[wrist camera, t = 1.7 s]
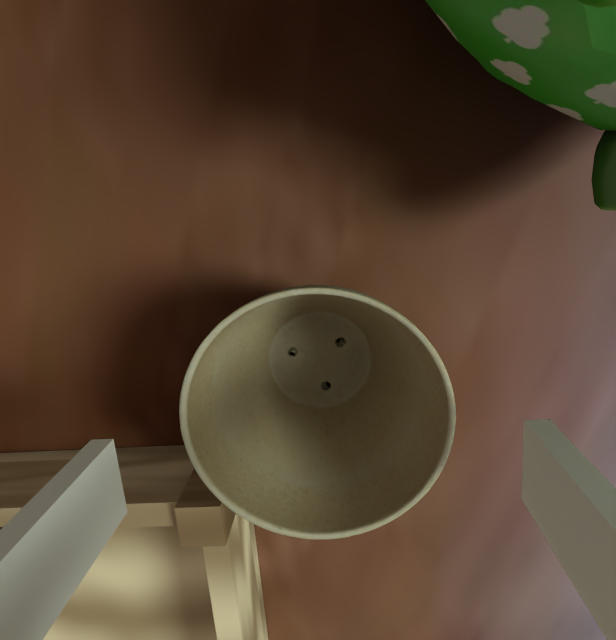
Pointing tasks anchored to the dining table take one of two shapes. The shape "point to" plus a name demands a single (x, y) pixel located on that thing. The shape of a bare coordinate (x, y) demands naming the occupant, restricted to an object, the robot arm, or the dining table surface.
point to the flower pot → (317, 412)
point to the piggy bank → (550, 61)
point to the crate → (154, 554)
